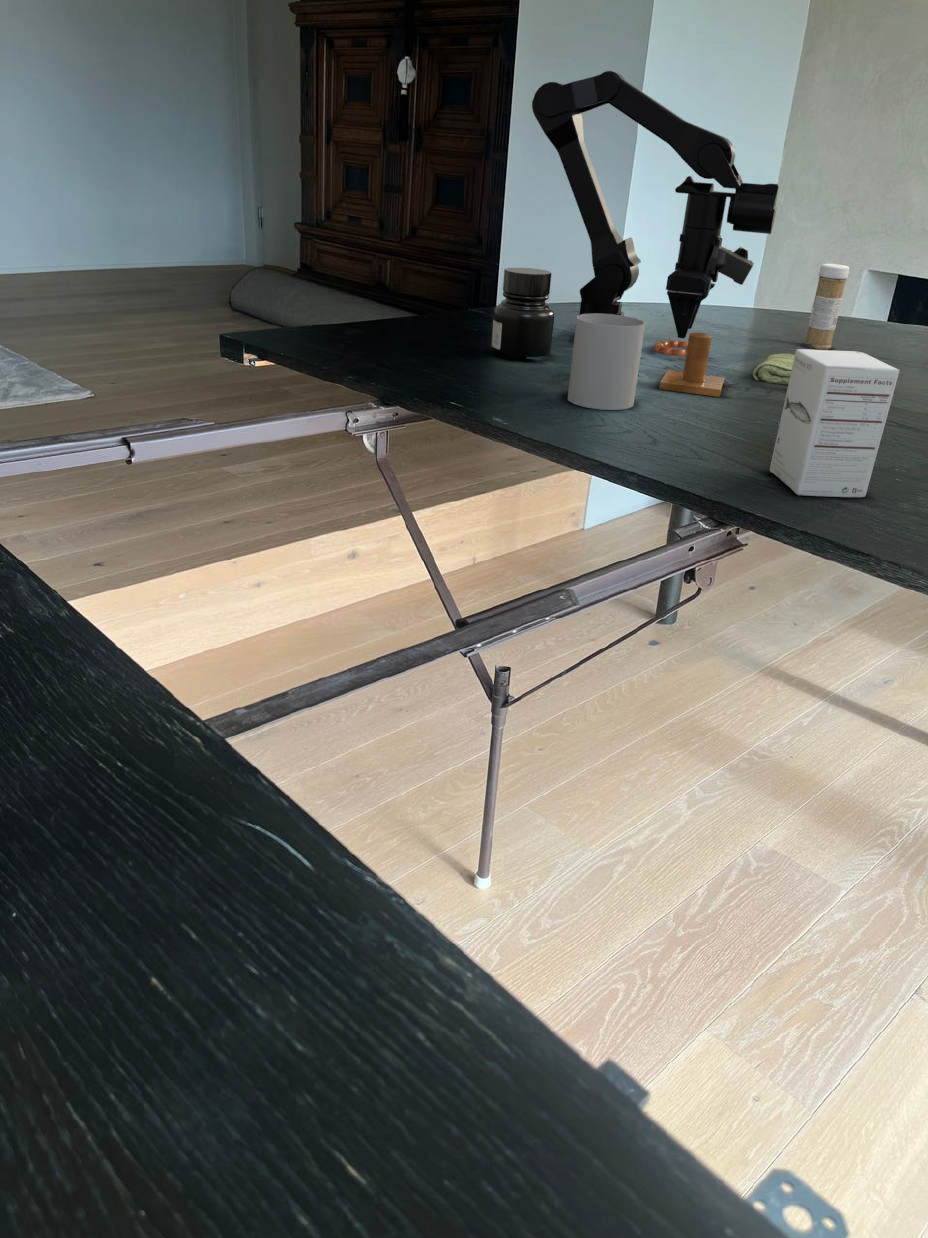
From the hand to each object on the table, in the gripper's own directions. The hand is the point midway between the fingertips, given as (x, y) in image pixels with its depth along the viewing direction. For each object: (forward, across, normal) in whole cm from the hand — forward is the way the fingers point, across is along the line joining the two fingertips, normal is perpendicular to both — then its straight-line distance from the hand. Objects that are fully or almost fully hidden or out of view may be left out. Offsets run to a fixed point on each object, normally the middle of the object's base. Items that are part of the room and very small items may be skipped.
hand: (684, 333), depth 152 cm
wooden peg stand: (+3, -25, -4) cm, 25 cm away
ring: (+2, -4, 0) cm, 4 cm away
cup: (+3, -40, +6) cm, 40 cm away
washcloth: (+3, -14, -21) cm, 25 cm away
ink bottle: (+3, -19, +22) cm, 29 cm away
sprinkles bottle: (+3, +18, -21) cm, 28 cm away
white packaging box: (+3, -62, -20) cm, 65 cm away
